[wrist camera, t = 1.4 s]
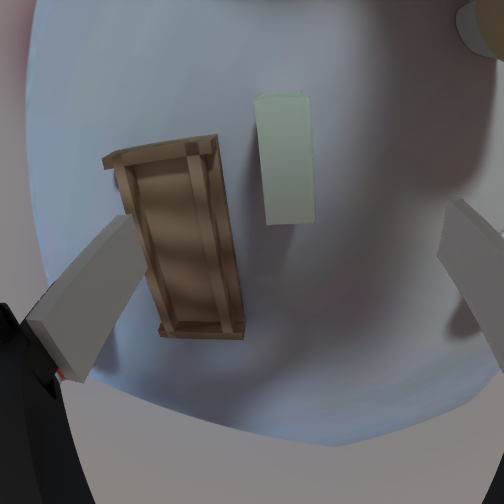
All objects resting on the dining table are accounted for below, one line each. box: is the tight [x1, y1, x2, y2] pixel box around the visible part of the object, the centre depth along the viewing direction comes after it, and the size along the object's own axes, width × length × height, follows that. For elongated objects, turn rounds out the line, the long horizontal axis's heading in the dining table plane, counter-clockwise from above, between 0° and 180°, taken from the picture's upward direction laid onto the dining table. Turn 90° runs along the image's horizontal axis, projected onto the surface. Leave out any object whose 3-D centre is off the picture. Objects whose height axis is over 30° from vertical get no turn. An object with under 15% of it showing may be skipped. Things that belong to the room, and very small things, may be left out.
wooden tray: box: [102, 134, 246, 340], centre depth 34 cm, size 24×11×3 cm, turn 6°
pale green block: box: [254, 91, 315, 225], centre depth 24 cm, size 9×4×9 cm, turn 6°
